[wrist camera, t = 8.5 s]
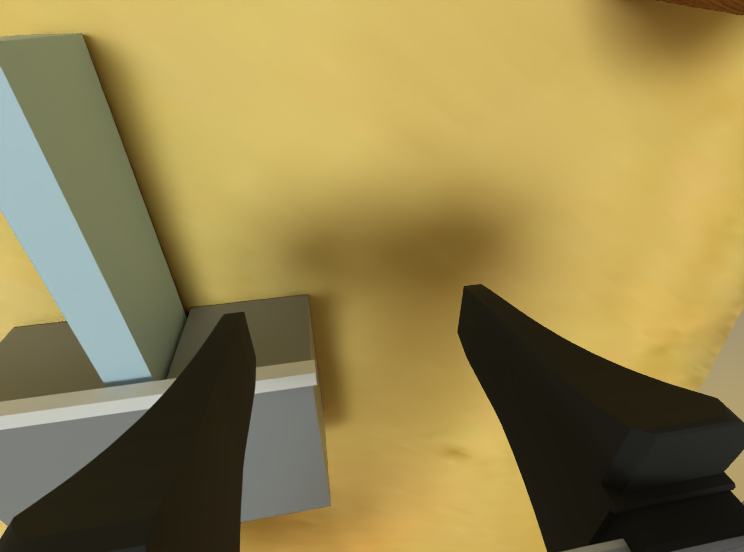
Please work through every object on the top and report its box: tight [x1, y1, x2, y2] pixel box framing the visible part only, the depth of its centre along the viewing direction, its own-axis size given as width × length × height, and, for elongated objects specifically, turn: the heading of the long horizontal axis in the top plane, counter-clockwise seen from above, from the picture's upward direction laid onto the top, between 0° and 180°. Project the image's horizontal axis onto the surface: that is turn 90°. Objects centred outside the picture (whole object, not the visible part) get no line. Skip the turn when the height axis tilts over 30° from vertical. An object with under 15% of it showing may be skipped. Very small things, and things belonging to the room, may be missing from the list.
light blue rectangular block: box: [0, 33, 187, 388], centre depth 16 cm, size 14×2×6 cm, turn 1°
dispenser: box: [0, 295, 331, 526], centre depth 22 cm, size 12×16×7 cm
